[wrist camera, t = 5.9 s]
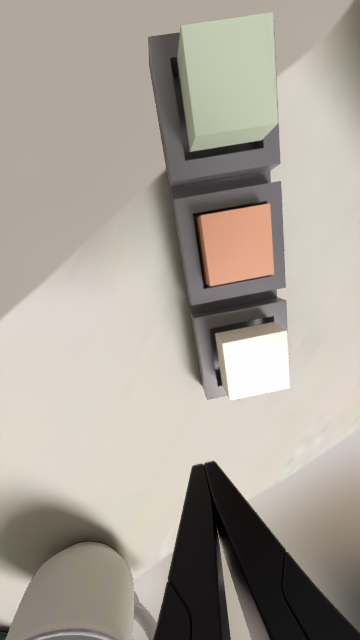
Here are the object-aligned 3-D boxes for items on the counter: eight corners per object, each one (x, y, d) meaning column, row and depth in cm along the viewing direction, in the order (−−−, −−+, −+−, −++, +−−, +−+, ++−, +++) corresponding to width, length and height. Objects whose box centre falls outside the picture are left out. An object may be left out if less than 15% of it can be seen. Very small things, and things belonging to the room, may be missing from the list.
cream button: (214, 333, 18) (222, 343, 16) (272, 322, 18) (287, 330, 16) (222, 385, 19) (229, 400, 17) (276, 374, 19) (289, 387, 17)
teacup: (16, 576, 26) (-43, 714, 18) (69, 509, 24) (30, 632, 16) (127, 609, 29) (117, 738, 21) (181, 554, 27) (191, 672, 20)
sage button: (177, 58, 13) (181, 24, 11) (256, 47, 13) (273, 12, 11) (190, 151, 14) (195, 136, 12) (261, 140, 14) (277, 123, 13)
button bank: (149, 64, 15) (148, 36, 13) (258, 48, 15) (273, 19, 13) (202, 386, 21) (207, 399, 20) (277, 370, 22) (289, 382, 20)
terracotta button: (195, 219, 17) (200, 215, 15) (257, 208, 17) (270, 203, 15) (204, 282, 18) (210, 286, 16) (261, 271, 18) (274, 274, 16)
